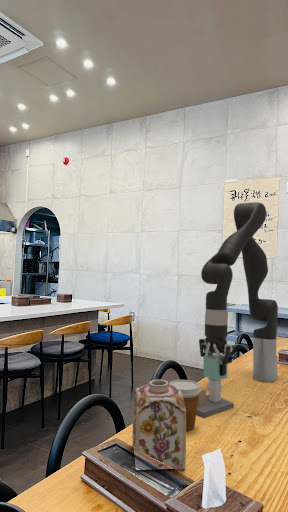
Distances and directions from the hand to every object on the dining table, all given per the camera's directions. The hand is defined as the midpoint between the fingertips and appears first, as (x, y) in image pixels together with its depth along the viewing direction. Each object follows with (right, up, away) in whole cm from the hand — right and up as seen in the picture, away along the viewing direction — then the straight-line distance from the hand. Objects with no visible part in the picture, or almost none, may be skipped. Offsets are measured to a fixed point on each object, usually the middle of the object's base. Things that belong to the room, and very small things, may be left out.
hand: (215, 372), depth 115 cm
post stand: (-3, -11, -2) cm, 11 cm away
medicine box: (+3, -12, +17) cm, 21 cm away
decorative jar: (-21, -9, -33) cm, 40 cm away
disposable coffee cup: (-13, -10, -17) cm, 23 cm away
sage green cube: (0, -1, 0) cm, 1 cm away
